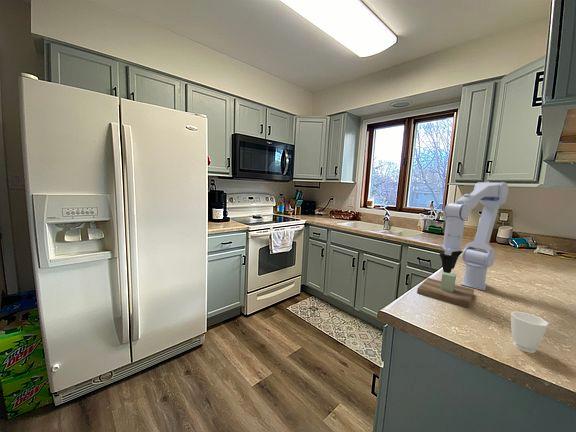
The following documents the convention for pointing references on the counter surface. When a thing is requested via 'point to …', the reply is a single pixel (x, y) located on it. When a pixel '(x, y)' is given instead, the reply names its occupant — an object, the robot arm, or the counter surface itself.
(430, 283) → the base board
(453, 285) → the block
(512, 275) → the counter surface
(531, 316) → the cup
